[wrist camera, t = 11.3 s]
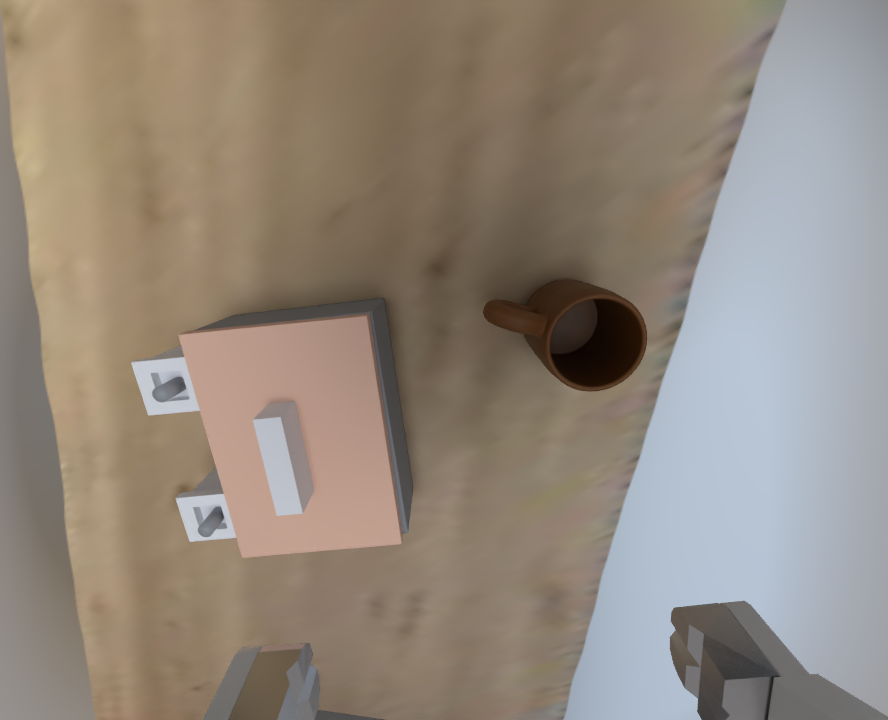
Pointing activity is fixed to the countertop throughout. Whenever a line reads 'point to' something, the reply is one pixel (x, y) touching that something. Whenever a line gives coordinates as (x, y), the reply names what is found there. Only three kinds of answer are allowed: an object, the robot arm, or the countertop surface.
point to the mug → (577, 332)
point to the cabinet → (388, 382)
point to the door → (287, 434)
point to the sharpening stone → (339, 716)
